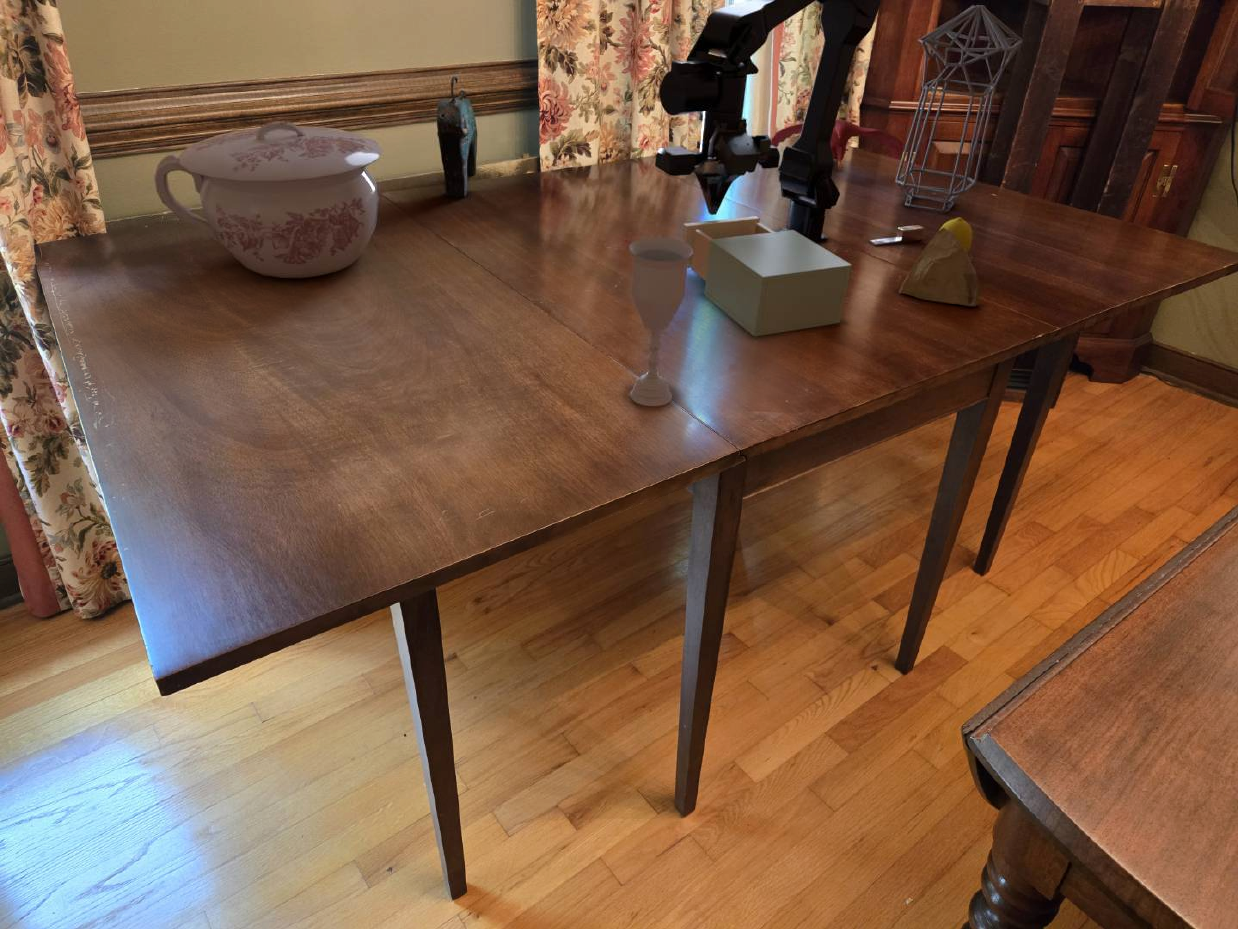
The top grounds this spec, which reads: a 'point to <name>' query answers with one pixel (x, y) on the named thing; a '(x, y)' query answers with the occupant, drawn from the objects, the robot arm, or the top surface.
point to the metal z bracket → (902, 235)
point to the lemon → (960, 231)
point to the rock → (943, 273)
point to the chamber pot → (282, 196)
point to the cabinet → (776, 282)
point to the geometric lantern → (934, 39)
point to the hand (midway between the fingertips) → (712, 213)
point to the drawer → (716, 237)
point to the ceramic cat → (457, 141)
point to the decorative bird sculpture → (845, 138)
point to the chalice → (657, 304)
